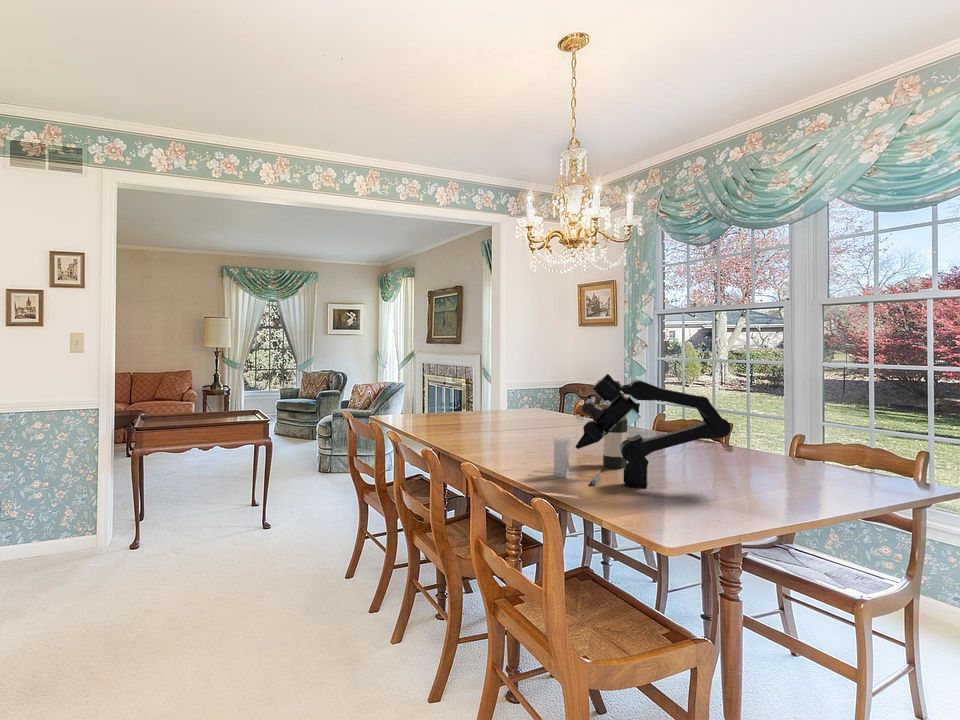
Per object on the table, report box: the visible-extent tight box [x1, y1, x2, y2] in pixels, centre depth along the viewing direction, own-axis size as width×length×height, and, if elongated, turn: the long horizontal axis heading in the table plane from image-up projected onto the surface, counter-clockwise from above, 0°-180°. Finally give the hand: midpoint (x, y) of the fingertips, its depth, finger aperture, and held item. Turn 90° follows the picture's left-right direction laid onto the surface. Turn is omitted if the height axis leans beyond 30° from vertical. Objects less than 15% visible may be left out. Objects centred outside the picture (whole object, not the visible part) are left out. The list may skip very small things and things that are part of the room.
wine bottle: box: [602, 380, 628, 470], centre depth 195 cm, size 8×8×30 cm
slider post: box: [552, 436, 571, 479], centre depth 177 cm, size 4×4×12 cm
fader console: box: [526, 470, 601, 486], centre depth 177 cm, size 23×9×2 cm, turn 68°
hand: (579, 445), depth 175 cm, fingers open, 9 cm apart
